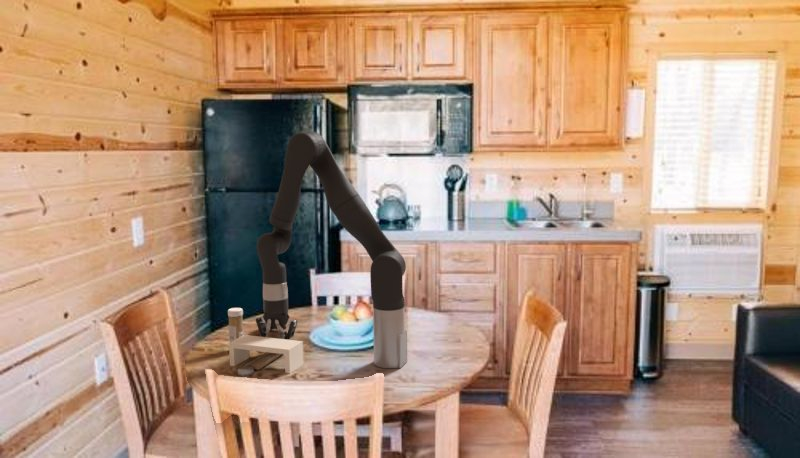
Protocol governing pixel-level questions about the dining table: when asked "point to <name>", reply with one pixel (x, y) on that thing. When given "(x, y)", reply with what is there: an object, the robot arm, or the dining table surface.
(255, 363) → the brown l-shaped block
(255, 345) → the shelf
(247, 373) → the silver metal dome
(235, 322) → the sprinkles bottle
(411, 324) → the dining table surface
